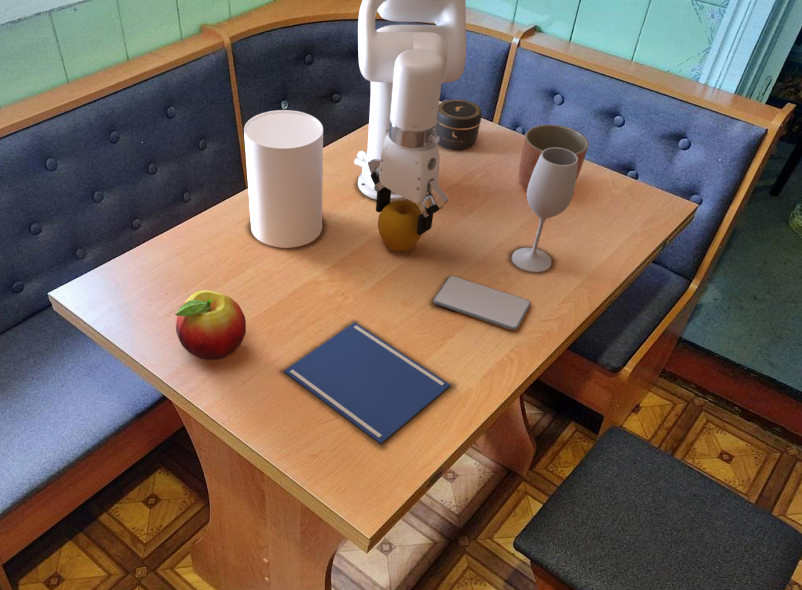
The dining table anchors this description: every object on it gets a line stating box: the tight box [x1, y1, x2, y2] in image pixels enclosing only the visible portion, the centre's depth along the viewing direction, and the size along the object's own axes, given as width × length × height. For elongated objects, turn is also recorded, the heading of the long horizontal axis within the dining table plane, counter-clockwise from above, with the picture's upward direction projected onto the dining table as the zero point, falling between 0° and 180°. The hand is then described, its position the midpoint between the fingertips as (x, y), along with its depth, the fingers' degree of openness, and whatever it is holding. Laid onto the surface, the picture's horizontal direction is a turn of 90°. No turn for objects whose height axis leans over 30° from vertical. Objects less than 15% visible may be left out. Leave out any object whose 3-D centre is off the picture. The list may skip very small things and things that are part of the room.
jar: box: [435, 98, 483, 152], centre depth 161 cm, size 10×10×8 cm
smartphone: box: [433, 275, 532, 331], centre depth 124 cm, size 8×1×15 cm
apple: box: [377, 200, 422, 253], centre depth 133 cm, size 8×8×9 cm
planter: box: [518, 124, 590, 192], centre depth 147 cm, size 12×12×11 cm
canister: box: [243, 109, 324, 249], centre depth 132 cm, size 14×14×20 cm
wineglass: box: [511, 148, 578, 273], centre depth 126 cm, size 8×8×21 cm
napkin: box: [283, 321, 451, 445], centre depth 111 cm, size 20×16×1 cm
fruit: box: [174, 289, 247, 361], centre depth 112 cm, size 11×11×10 cm
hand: (402, 220), depth 131 cm, fingers open, 9 cm apart
